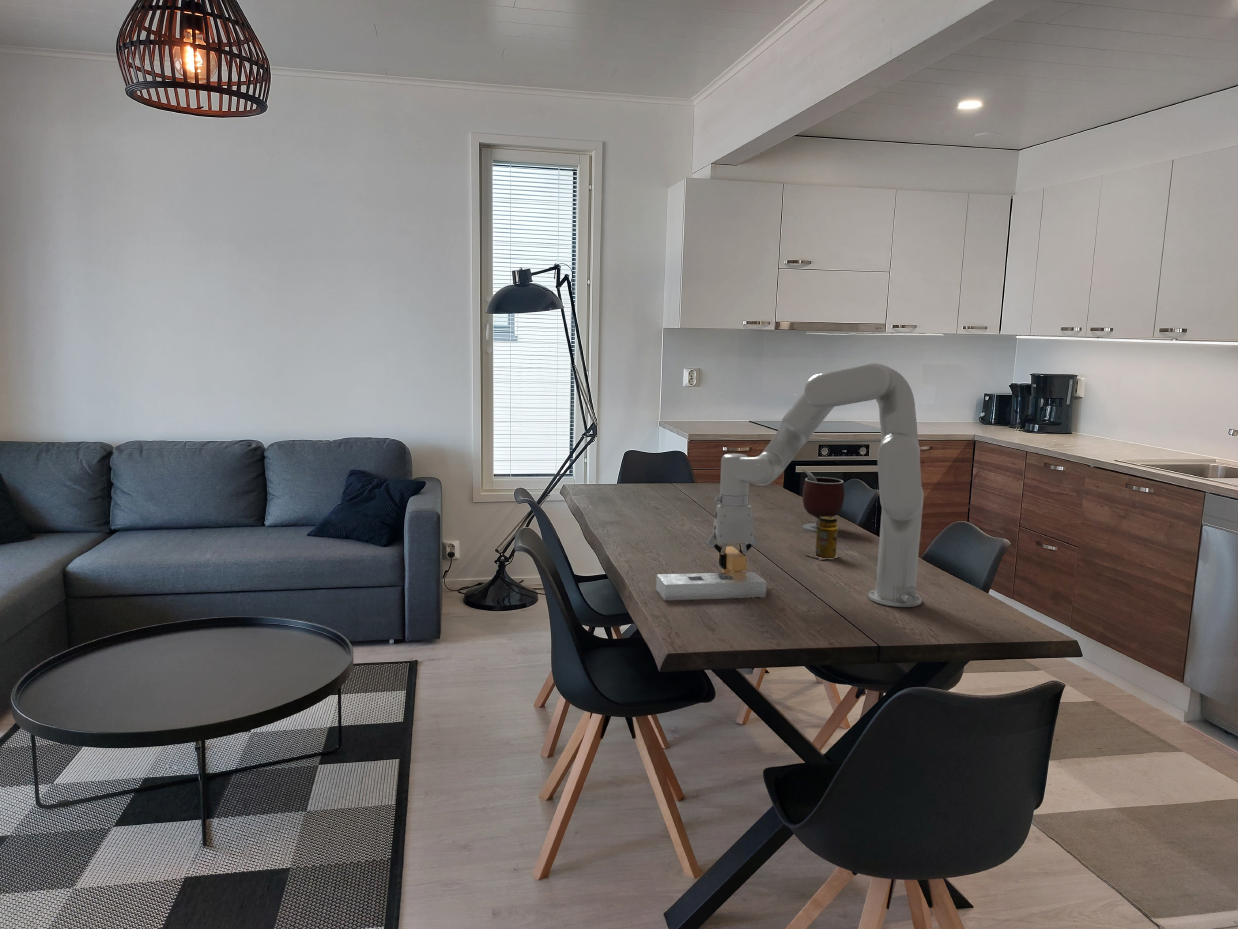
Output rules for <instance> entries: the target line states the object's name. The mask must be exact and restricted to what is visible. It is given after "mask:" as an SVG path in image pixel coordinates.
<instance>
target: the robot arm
mask: <svg viewBox="0 0 1238 929" xmlns="http://www.w3.org/2000/svg"><path fill="white" fill-rule="evenodd" d="M873 400H875V401H876V402H877V404H878V411H879V424H880V445H879V446H878V449H877V458H876V459H877V460H876V461H877V474H878V490H879V491H878V492H879V502H880V506H881V512H880V513H881V515H880V528H879V539H878V550H877V551H878V552H877V565H876V578H875V579H876V580H875V588H874V589H871V590H870V591H868V598H869V600H871V601H873V602H874V603H877V604H880V605H883V606H889V607H896V608H911V607H912V608H914V607H917V606H920V605H921V604H922V597H921V596H920V595H918V594H917V579H918V578H917V577H918V574H917V573H918V564H919V553H920V552H919V550H920V541H921V531H922V521H923V520H922V518H923V507H924V497H925V494H924V489H923V486H922V471H921V458H920V457H921V448H920V443H919V436H918V422H917V412H916V411H917V410H916V403H915V397H914V393H913V390H912V388H911V386H910V384H909V383H908V381H907V379H906V378H905V377H904V376H903V375H902V374H901V373H899V372H898V371H897V370H895V369H893V368H892V367H889V366H887V365H884V364H880V363H878V362H877V363H867V364H864V365H859V366H853V367H851V368H845V369H840V370H834V371H828V372H820V373H819V372H818V373H815V374H814V375H812V376H811V377H809V379H807V381H806V383H805V386H804V389H803V391H802V392H801V394H800V395H799V396H798V398H797V399H796V400H795V401H794V402H793V404H792V405H791V407H790V408H789V409H788V410H787V412H786V413H785V414H784V415H783V417H782V419H781V422H780V425H779V427H778V430H777V432H776V433H775V435H774V436H773V438H772V439H771V440H770V442H769V443H768V444H767V446H766V447H765V448H764V449H763V451H761V454H759V455H757V456H755V457H754V456H753V457H750V456H748V455H747V454H744V453H743V454H742V453H735V452H733V453H726V454H723V455H722V457H721V460H720V486H719V490H720V491H719V494H718V496H715V497H714V502H715V503H719V504H717V505H716V510H715V514H714V520H713V526H712V528H713V530H712V533H711V535H709V537H708V539H707V540H706V543H707V544H708V545H709V546H711V547H712V548H714V549H715V550H716V551H717V553H718V552H719V560H718V564H719V566H720V568H721V570H722V569H724V570H725V569H726V559H727V556H726V554H725V551H726V547H728V546H727V545H738V549H739V550H738V551H739V552H740V553H742V554H743V555H744V556H746V554H747V553H748V551H749V550H750V549H751V548H752V547H754V546H755V545H756V544H758V543H759V540H758V539H757V536H756V535H755V534H754V533H755V532H754V515H753V509H752V505H749V494H750V493H749V492H750V484H751V485H755V486H768V485H770V484H771V483H773V482H774V481H775V480H776V479H778V478H779V477H780V475H782V473H783V472H784V471H785V470H786V468H787V467H788V466H789V464H790V463H791V462H792V461H793V459H795V457H796V455H797V454H798V453H799V451H800V450H801V448H802V447H803V446H804V445H806V443H807V442H808V441H809V440H810V439H811V437H812V436H813V434H814V433H815V432H816V431H817V429H818V428H819V427H820V425H822V423H823V422H824V420H825V419H826V418H827V417H828V415H829V414H830V413H831V411H832V410H833V409H834V408H835V407H841V406H846V405H852V404H857V403H858V404H859V403H863V402H869V401H873ZM716 542H717V543H718V544H717V543H716Z"/></svg>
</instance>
